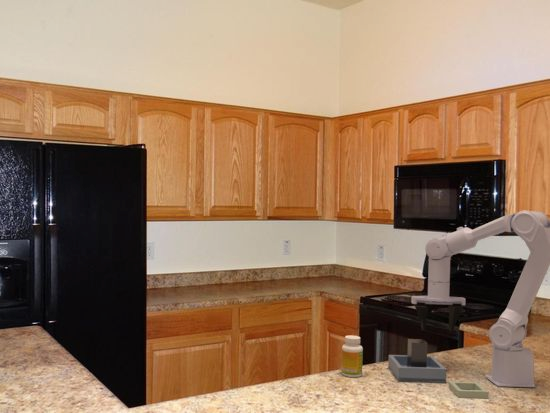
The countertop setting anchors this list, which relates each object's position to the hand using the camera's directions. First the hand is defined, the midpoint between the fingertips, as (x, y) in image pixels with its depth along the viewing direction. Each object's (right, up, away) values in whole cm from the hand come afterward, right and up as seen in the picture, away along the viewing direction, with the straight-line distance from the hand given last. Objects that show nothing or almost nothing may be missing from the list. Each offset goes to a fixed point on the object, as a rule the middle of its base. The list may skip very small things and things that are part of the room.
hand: (437, 330), depth 153 cm
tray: (-8, -10, -9) cm, 16 cm away
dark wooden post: (-8, -9, -9) cm, 15 cm away
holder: (+1, -10, -22) cm, 24 cm away
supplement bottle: (-25, -9, -10) cm, 29 cm away
